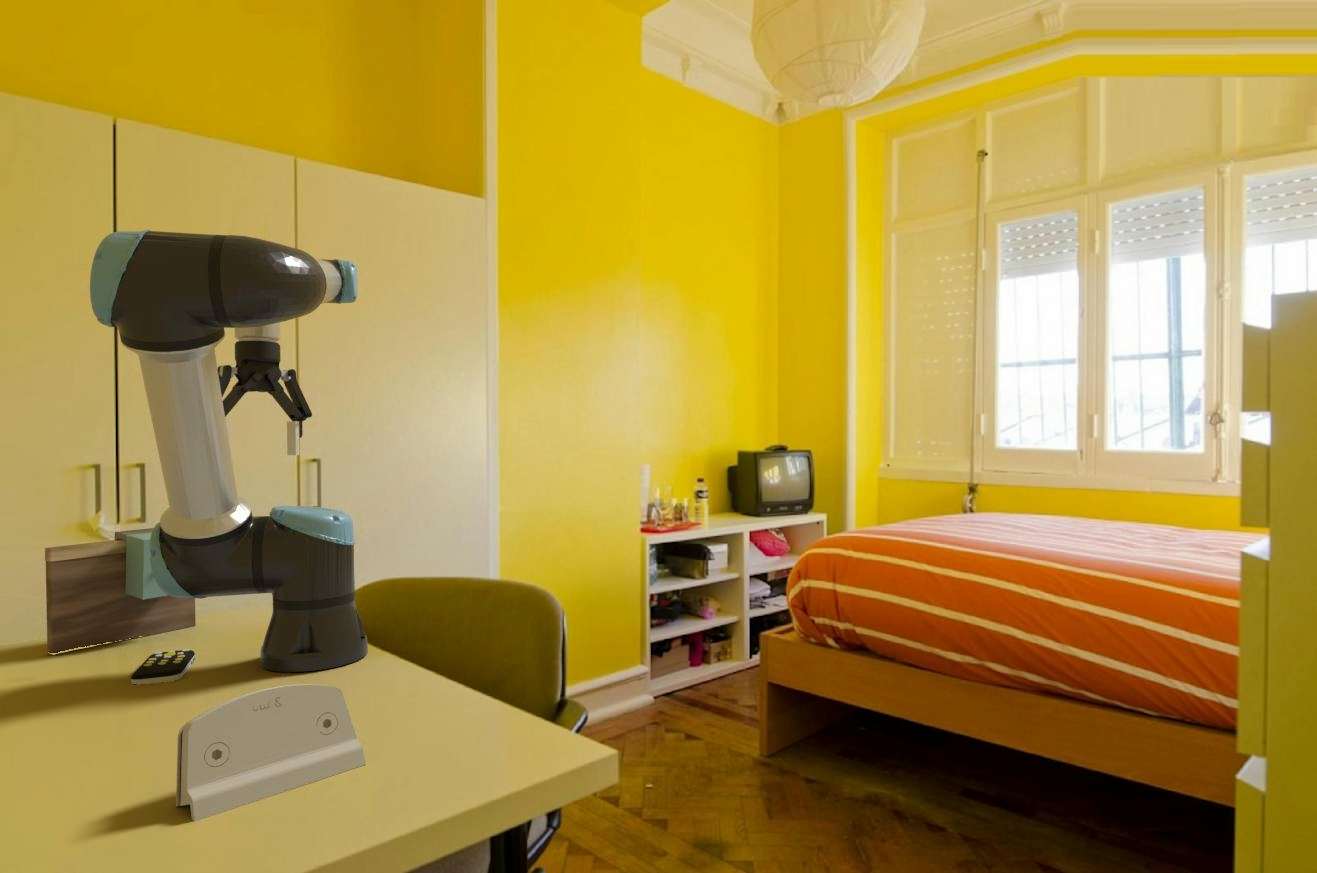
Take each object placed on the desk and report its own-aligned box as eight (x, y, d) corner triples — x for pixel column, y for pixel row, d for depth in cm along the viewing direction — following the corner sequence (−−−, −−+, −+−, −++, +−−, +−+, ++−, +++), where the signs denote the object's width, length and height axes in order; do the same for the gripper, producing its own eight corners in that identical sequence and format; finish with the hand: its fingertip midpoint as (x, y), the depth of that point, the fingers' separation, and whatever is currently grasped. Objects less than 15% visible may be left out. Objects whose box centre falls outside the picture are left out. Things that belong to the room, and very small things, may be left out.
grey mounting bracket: (189, 823, 70) (176, 708, 72) (174, 824, 73) (162, 714, 75) (369, 763, 82) (352, 667, 84) (350, 766, 85) (334, 673, 87)
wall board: (196, 626, 144) (194, 532, 144) (53, 655, 125) (51, 548, 125) (189, 624, 145) (187, 532, 145) (46, 653, 126) (44, 547, 126)
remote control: (128, 689, 109) (128, 675, 109) (150, 664, 121) (150, 651, 121) (180, 683, 111) (179, 669, 111) (196, 659, 123) (196, 647, 123)
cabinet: (189, 593, 136) (191, 535, 136) (145, 600, 130) (147, 540, 130) (157, 582, 142) (158, 527, 142) (113, 589, 136) (114, 532, 136)
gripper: (306, 348, 158) (308, 454, 158) (176, 336, 137) (178, 458, 137) (329, 345, 154) (331, 454, 154) (199, 333, 133) (202, 458, 133)
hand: (259, 456), depth 145 cm, fingers open, 13 cm apart
